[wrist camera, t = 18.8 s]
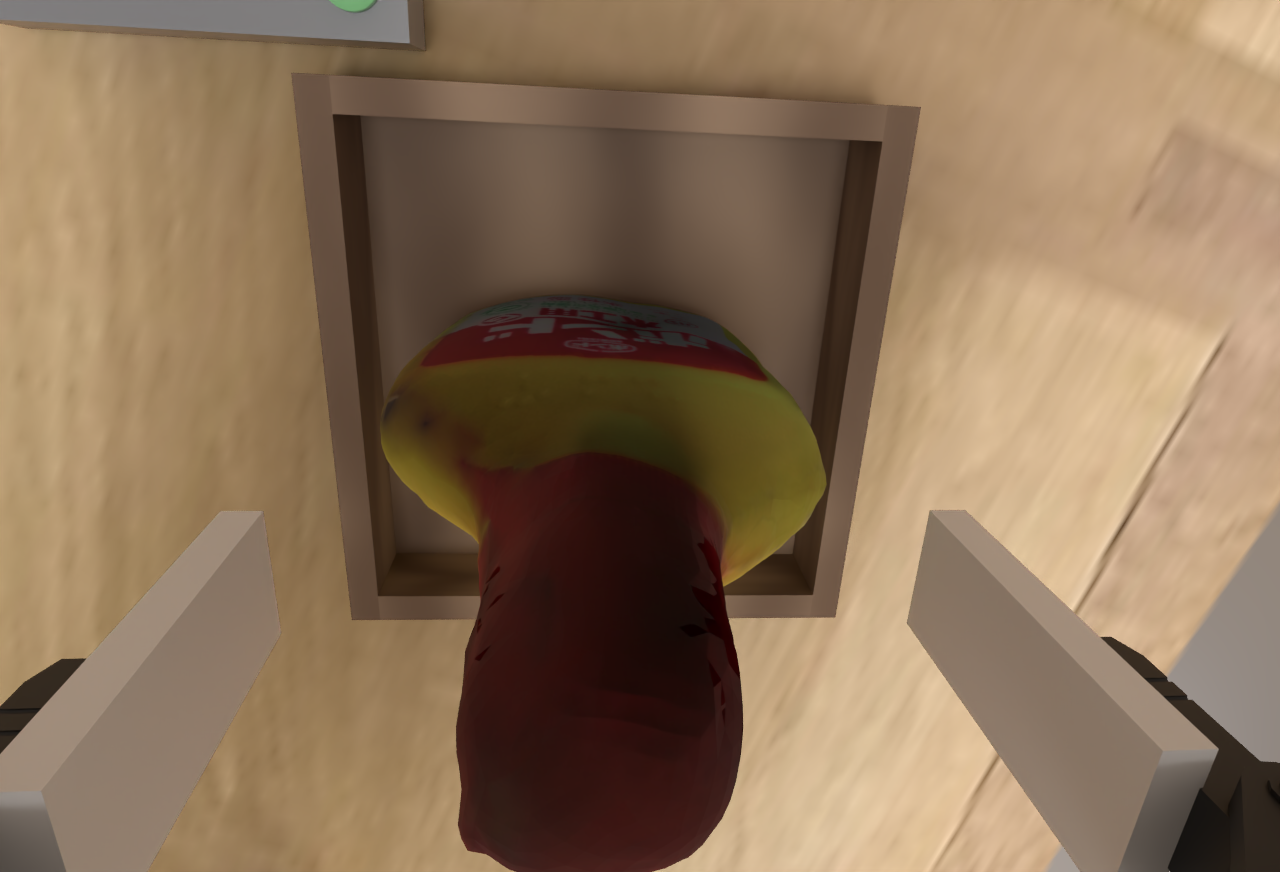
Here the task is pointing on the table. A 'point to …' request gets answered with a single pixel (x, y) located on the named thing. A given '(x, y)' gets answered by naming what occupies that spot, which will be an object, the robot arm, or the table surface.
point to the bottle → (600, 564)
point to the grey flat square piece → (234, 20)
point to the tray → (593, 275)
